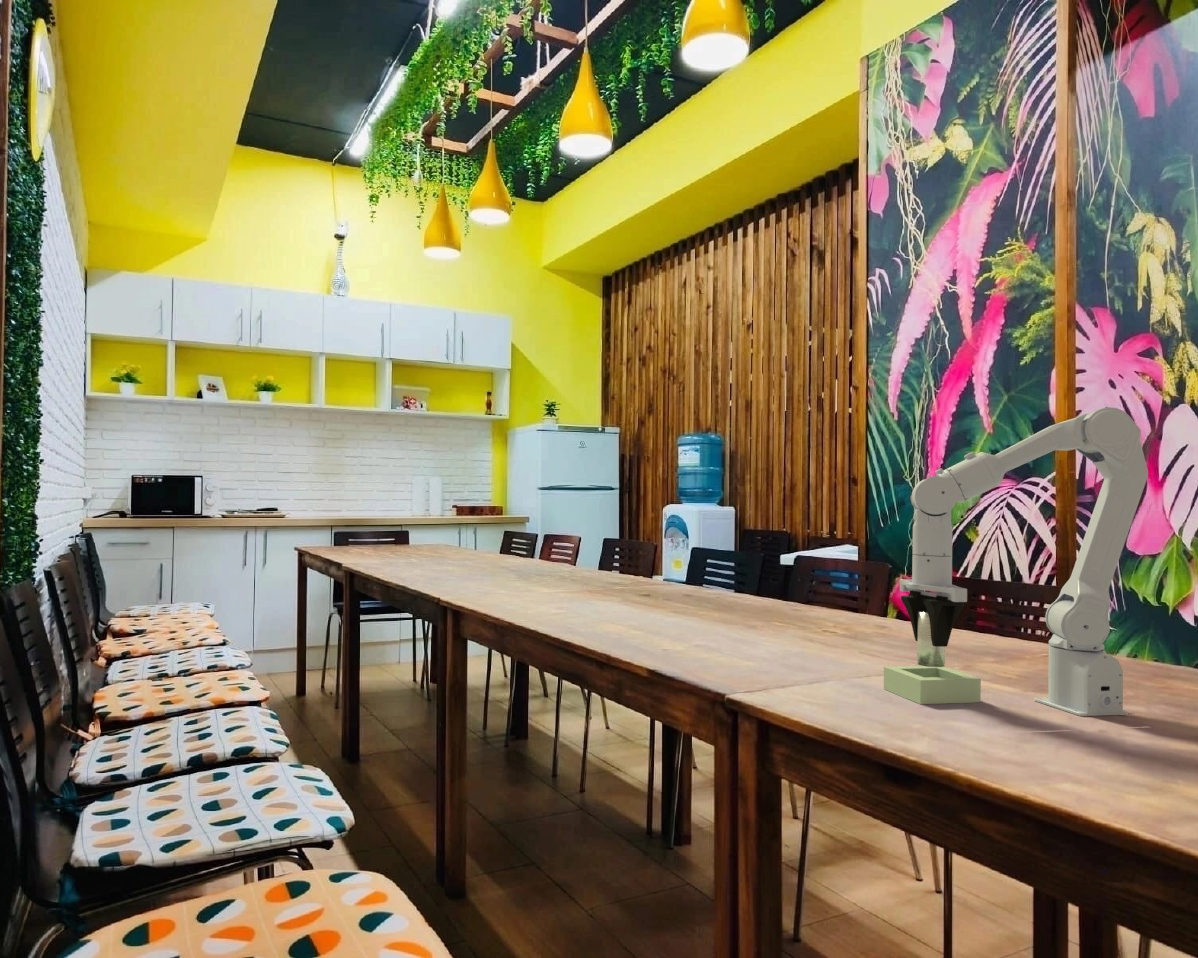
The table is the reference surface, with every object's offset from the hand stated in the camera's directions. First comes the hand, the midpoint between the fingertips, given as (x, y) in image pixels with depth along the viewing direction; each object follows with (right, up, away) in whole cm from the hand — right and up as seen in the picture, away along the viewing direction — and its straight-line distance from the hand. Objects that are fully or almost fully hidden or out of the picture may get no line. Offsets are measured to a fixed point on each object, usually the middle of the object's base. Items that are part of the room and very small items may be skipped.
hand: (931, 643), depth 130 cm
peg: (0, -3, 0) cm, 3 cm away
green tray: (0, -8, 0) cm, 8 cm away
